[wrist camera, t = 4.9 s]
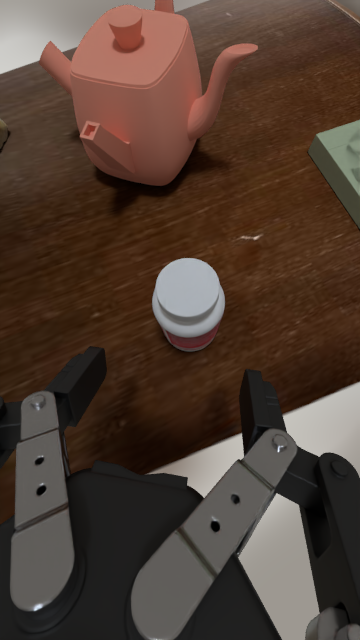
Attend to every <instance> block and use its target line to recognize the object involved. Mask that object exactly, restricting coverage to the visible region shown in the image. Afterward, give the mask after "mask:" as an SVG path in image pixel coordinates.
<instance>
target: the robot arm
mask: <svg viewBox="0 0 360 640" xmlns="http://www.w3.org/2000/svg"><path fill="white" fill-rule="evenodd" d="M106 372H107V367H106V358H105V350H104V348H99V347H92V346H90V347H89V348H88V349H87V350H86V351H85V353H84V354H78V355H77V356H75V357H73V358H72V359H71V360H70V361H69V362H68V363H67V364H66V366H65V367H64V368H63V369H62V370H61V372H59V374H58V375H57V376H56V377H55V378H54V379H53V381H52V382H51V383H50V384H49V385H48V386H47V388H46V389H45V390H44V391H39V392H36V393H33V394H31V395H29V396H28V397H27V398H26V399H25V400H24V401H20V402H10V403H4V400H3V398H2V397H1V396H0V469H1V467H2V466H3V465H4V463H5V462H6V460H7V459H8V458H9V456H10V455H11V453H12V452H13V451H14V449H16V448H17V449H16V494H15V515H13V516H12V517H11V518H9V519H8V520H7V521H5V522H4V523H2V524H1V525H0V640H282V639H281V637H280V635H279V633H278V631H277V630H276V628H275V626H274V624H273V622H272V620H271V619H270V616H269V615H268V613H267V611H266V609H265V607H264V605H263V603H262V602H261V600H260V598H259V596H258V594H257V592H256V590H255V589H254V587H253V585H252V583H251V581H250V579H249V577H248V576H247V574H246V572H245V570H244V568H243V566H242V564H241V562H240V561H239V559H238V557H239V555H240V553H241V552H242V550H243V548H244V547H245V545H246V544H247V542H248V540H249V538H250V537H251V535H252V533H253V531H254V529H255V527H256V526H257V524H258V523H259V521H260V519H261V518H262V516H263V514H264V513H265V511H266V510H267V508H268V506H269V505H270V503H271V501H272V500H273V498H274V496H275V495H276V493H278V494H280V495H282V496H284V497H285V498H287V499H289V500H291V501H293V502H295V503H297V504H298V505H299V507H300V513H301V518H302V523H303V528H304V534H305V539H306V544H307V549H308V554H309V559H310V565H311V570H312V575H313V580H314V586H315V591H316V596H317V601H318V605H319V612H320V614H319V615H318V616H316V617H315V618H314V619H313V620H311V622H310V623H309V624H308V626H307V629H306V637H305V640H360V478H359V475H358V473H357V471H356V470H355V468H354V467H353V466H352V465H351V464H350V463H349V462H348V461H347V460H346V459H344V458H343V457H341V456H339V455H337V454H334V453H324V454H322V455H321V456H320V457H318V456H316V455H314V454H312V453H309V452H307V451H305V450H303V449H301V448H300V447H298V446H297V445H296V443H295V441H294V440H293V438H292V437H291V436H290V435H289V434H288V433H287V431H286V427H285V423H284V420H283V416H282V412H281V409H280V406H279V401H278V398H277V394H276V390H275V389H274V387H273V386H272V385H271V383H270V382H266V381H263V380H262V376H261V372H260V371H257V370H250V369H246V370H245V373H244V377H243V381H242V385H241V389H240V395H239V403H240V414H241V426H242V437H243V447H244V458H243V459H242V460H239V459H238V460H237V461H236V462H235V463H234V464H233V465H232V466H231V467H230V469H229V470H228V471H227V472H226V473H225V474H224V476H223V477H222V478H221V479H220V480H219V482H218V483H217V484H216V485H215V486H214V488H213V489H212V490H211V491H210V492H209V493H208V495H207V496H206V497H205V498H203V496H202V495H200V494H199V493H198V492H197V491H196V490H194V489H193V488H191V487H189V486H187V479H188V478H187V477H182V476H177V475H172V474H166V473H160V474H148V475H138V474H136V473H134V472H132V471H130V470H128V469H126V468H124V467H122V466H120V465H118V464H114V463H108V462H103V461H98V460H95V463H94V465H93V467H92V468H87V469H83V470H80V471H77V472H75V473H73V474H71V470H70V465H69V459H68V453H67V446H66V440H65V434H64V430H65V429H66V427H67V426H72V427H76V426H77V424H78V422H79V421H80V419H81V417H82V416H83V414H84V412H85V411H86V409H87V407H88V406H89V404H90V402H91V401H92V399H93V397H94V396H95V394H96V392H97V391H98V389H99V387H100V386H101V384H102V382H103V381H104V379H105V376H106Z"/></svg>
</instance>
